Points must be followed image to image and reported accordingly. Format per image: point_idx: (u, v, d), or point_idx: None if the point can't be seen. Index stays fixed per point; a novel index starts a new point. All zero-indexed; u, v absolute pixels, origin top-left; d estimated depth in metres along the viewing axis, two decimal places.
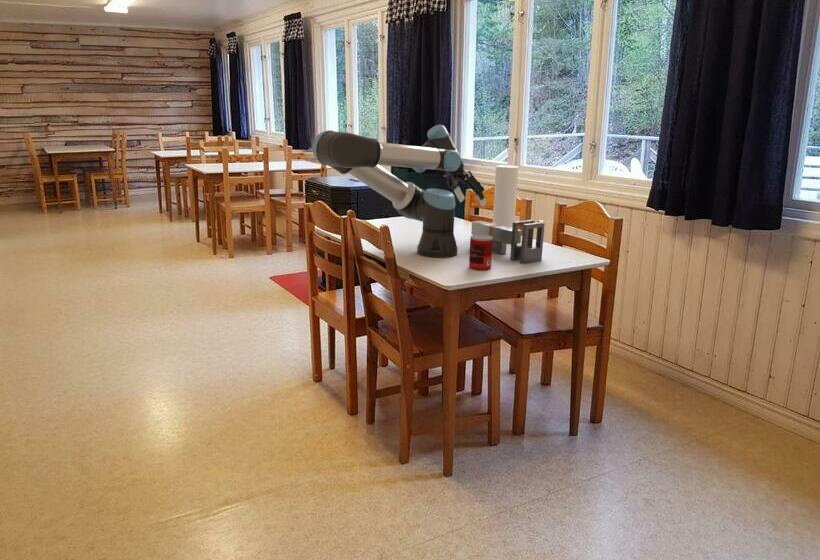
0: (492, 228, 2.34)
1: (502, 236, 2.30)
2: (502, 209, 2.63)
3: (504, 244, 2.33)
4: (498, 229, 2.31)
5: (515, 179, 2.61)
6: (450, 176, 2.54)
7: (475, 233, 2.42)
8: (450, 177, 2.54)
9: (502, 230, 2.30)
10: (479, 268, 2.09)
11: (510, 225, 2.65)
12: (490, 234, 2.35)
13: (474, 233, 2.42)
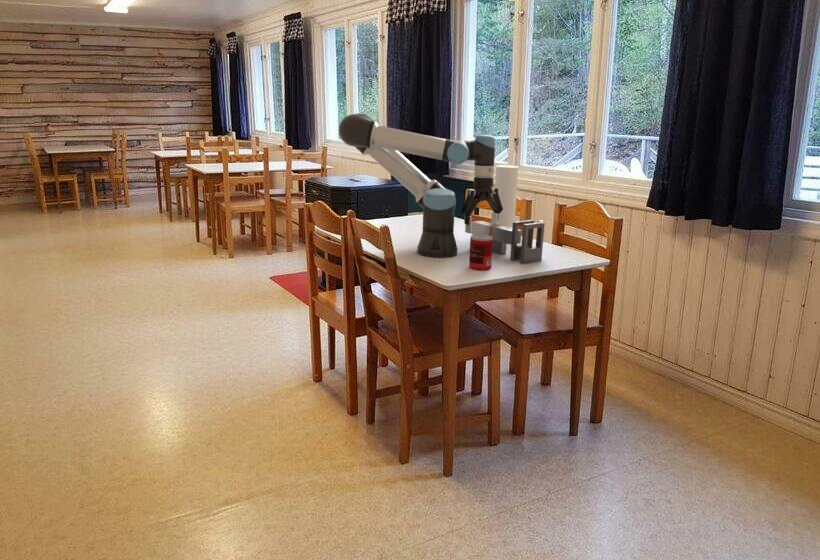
0: (492, 228, 2.34)
1: (502, 236, 2.30)
2: None
3: (504, 244, 2.33)
4: (498, 229, 2.31)
5: (515, 179, 2.61)
6: (494, 197, 2.43)
7: (475, 233, 2.42)
8: (495, 198, 2.44)
9: (502, 230, 2.30)
10: (479, 268, 2.09)
11: (510, 225, 2.65)
12: (490, 234, 2.35)
13: (474, 233, 2.42)
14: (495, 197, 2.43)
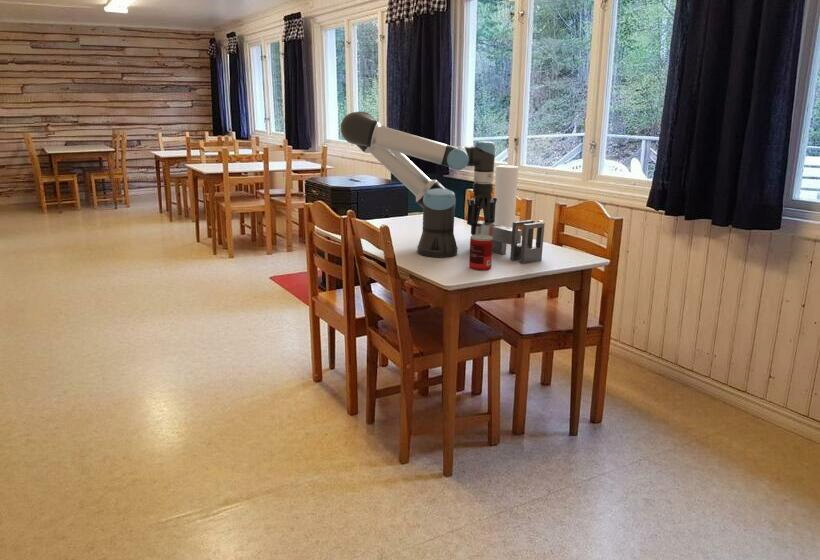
0: (492, 228, 2.34)
1: (502, 236, 2.30)
2: (502, 209, 2.63)
3: (504, 244, 2.33)
4: (498, 229, 2.31)
5: (515, 179, 2.61)
6: (491, 206, 2.43)
7: None
8: (490, 207, 2.44)
9: (502, 230, 2.30)
10: (479, 268, 2.09)
11: (510, 225, 2.65)
12: (490, 234, 2.35)
13: None
14: (491, 206, 2.43)
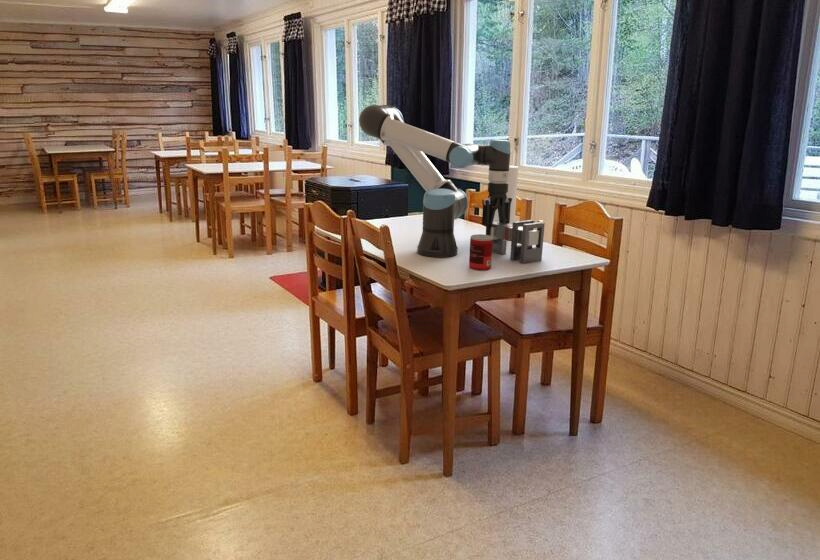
0: (508, 229, 2.27)
1: (519, 237, 2.24)
2: None
3: (504, 244, 2.33)
4: None
5: (515, 179, 2.61)
6: (506, 206, 2.37)
7: None
8: (505, 207, 2.37)
9: (519, 231, 2.23)
10: (479, 268, 2.09)
11: None
12: (506, 235, 2.28)
13: None
14: (506, 206, 2.37)
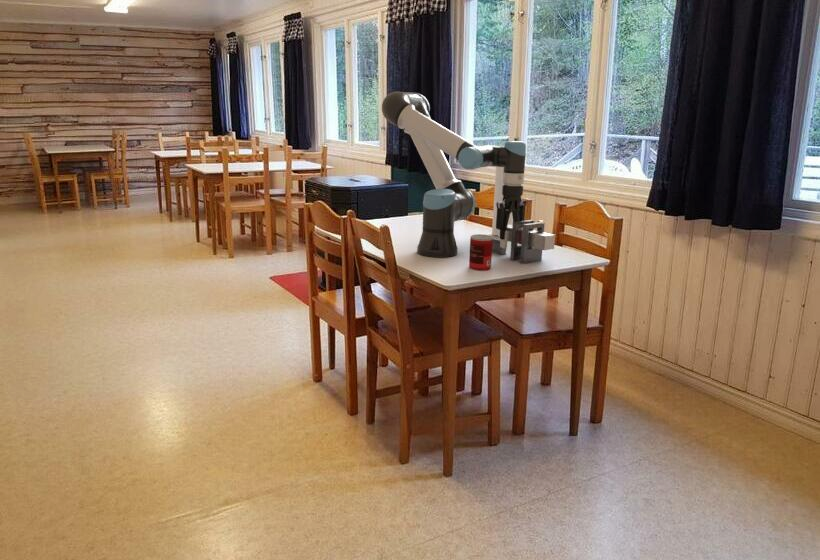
0: None
1: (534, 241, 2.18)
2: None
3: None
4: (530, 234, 2.19)
5: None
6: (520, 209, 2.31)
7: None
8: (520, 210, 2.31)
9: (534, 235, 2.17)
10: (479, 268, 2.09)
11: None
12: (521, 239, 2.22)
13: None
14: (521, 209, 2.31)
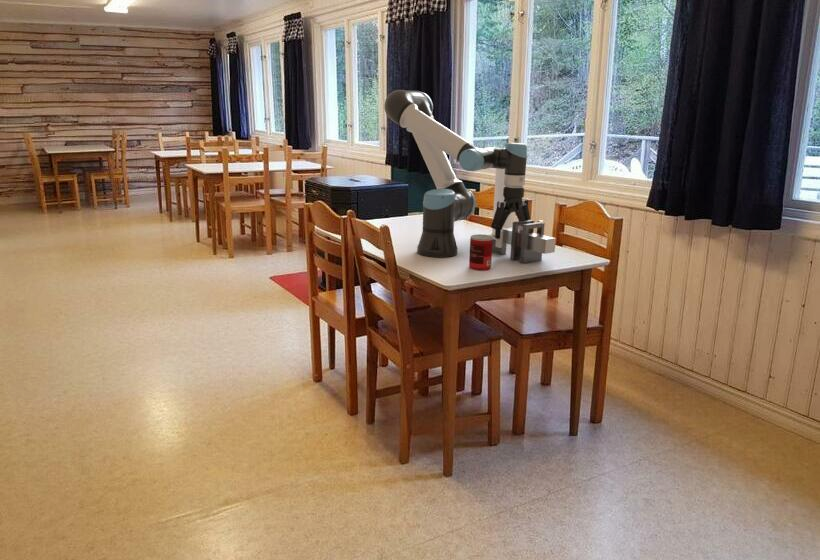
0: None
1: (535, 245, 2.17)
2: None
3: (504, 244, 2.33)
4: (530, 237, 2.18)
5: None
6: (523, 209, 2.31)
7: (504, 240, 2.29)
8: (523, 210, 2.31)
9: (535, 238, 2.17)
10: (479, 268, 2.09)
11: (510, 225, 2.65)
12: (521, 242, 2.22)
13: (504, 241, 2.30)
14: (524, 209, 2.31)
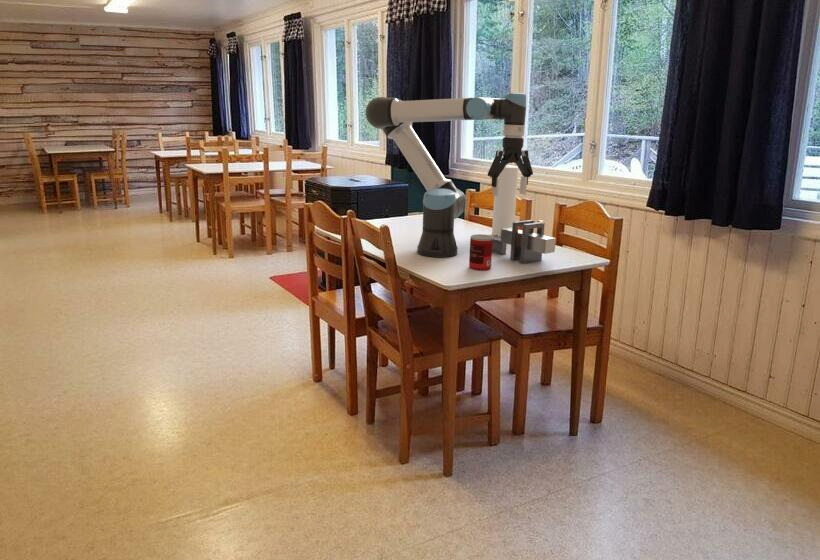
0: None
1: (535, 245, 2.17)
2: (502, 209, 2.63)
3: (504, 244, 2.33)
4: (530, 237, 2.18)
5: (515, 179, 2.61)
6: (524, 159, 2.32)
7: (504, 240, 2.29)
8: (524, 161, 2.32)
9: (535, 238, 2.17)
10: (479, 268, 2.09)
11: (510, 225, 2.65)
12: (521, 242, 2.22)
13: (504, 241, 2.30)
14: (525, 160, 2.32)
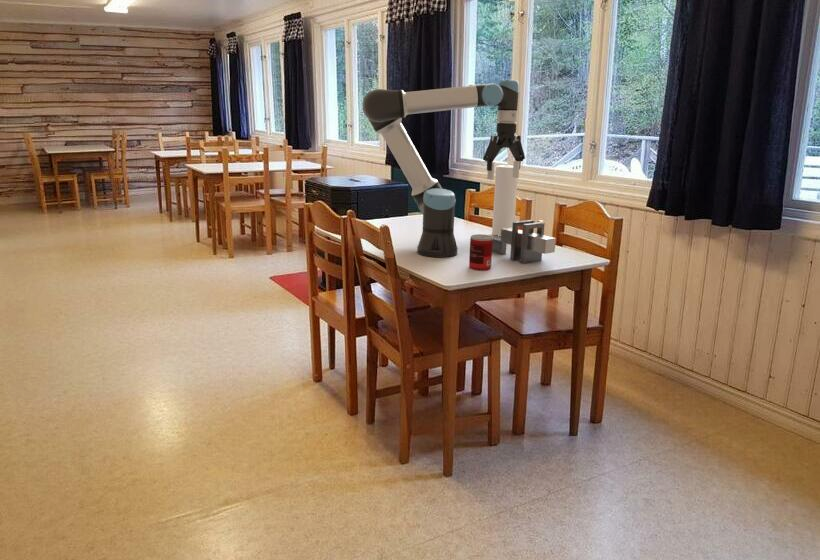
0: None
1: (535, 245, 2.17)
2: (502, 209, 2.63)
3: (504, 244, 2.33)
4: (530, 237, 2.18)
5: (515, 179, 2.61)
6: (517, 144, 2.42)
7: (504, 240, 2.29)
8: (517, 146, 2.42)
9: (535, 238, 2.17)
10: (479, 268, 2.09)
11: (510, 225, 2.65)
12: (521, 242, 2.22)
13: (504, 241, 2.30)
14: (517, 145, 2.42)
